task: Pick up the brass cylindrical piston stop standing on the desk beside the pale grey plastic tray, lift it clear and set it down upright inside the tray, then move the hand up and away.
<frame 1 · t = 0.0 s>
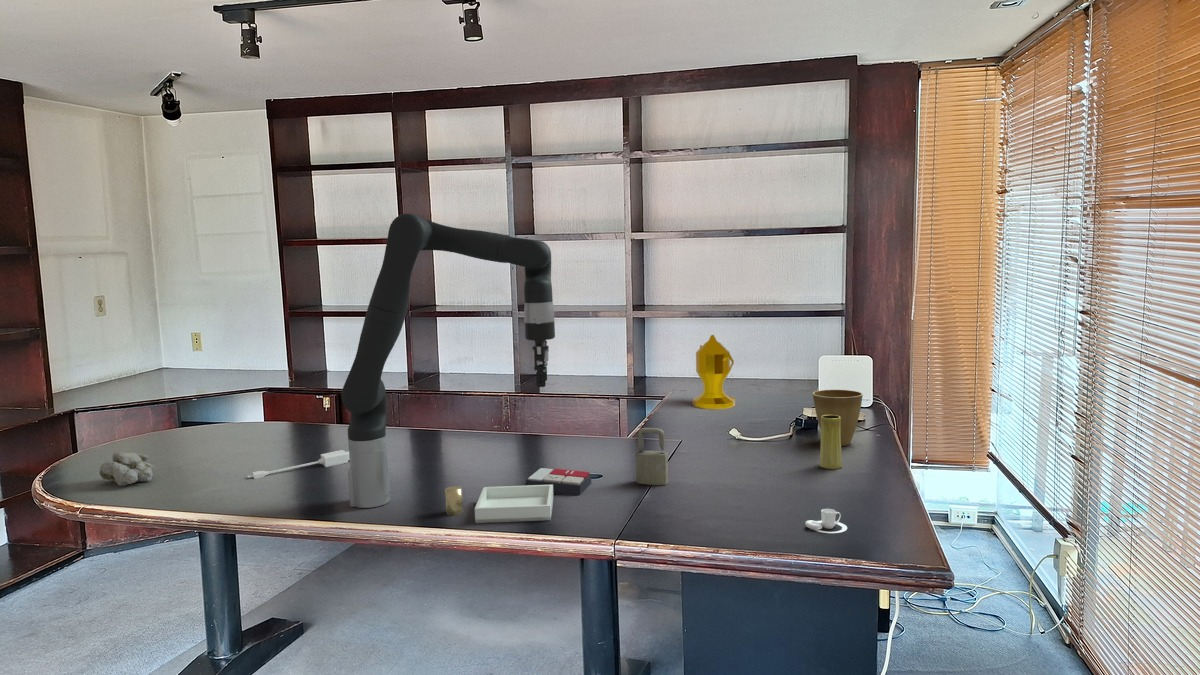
hand: (542, 383, 197), 29 cm above the table, fingers open, 8 cm apart
plant pot: (837, 443, 243), on the table
tray: (516, 509, 190), on the table
padlock: (652, 483, 208), on the table
mineral: (130, 483, 225), on the table
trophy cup: (715, 404, 309), on the table
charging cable: (307, 469, 235), on the table
teacup and saucer: (817, 526, 174), on the table
vase: (830, 467, 218), on the table
calculator: (559, 489, 207), on the table
piston stop: (454, 512, 190), on the table
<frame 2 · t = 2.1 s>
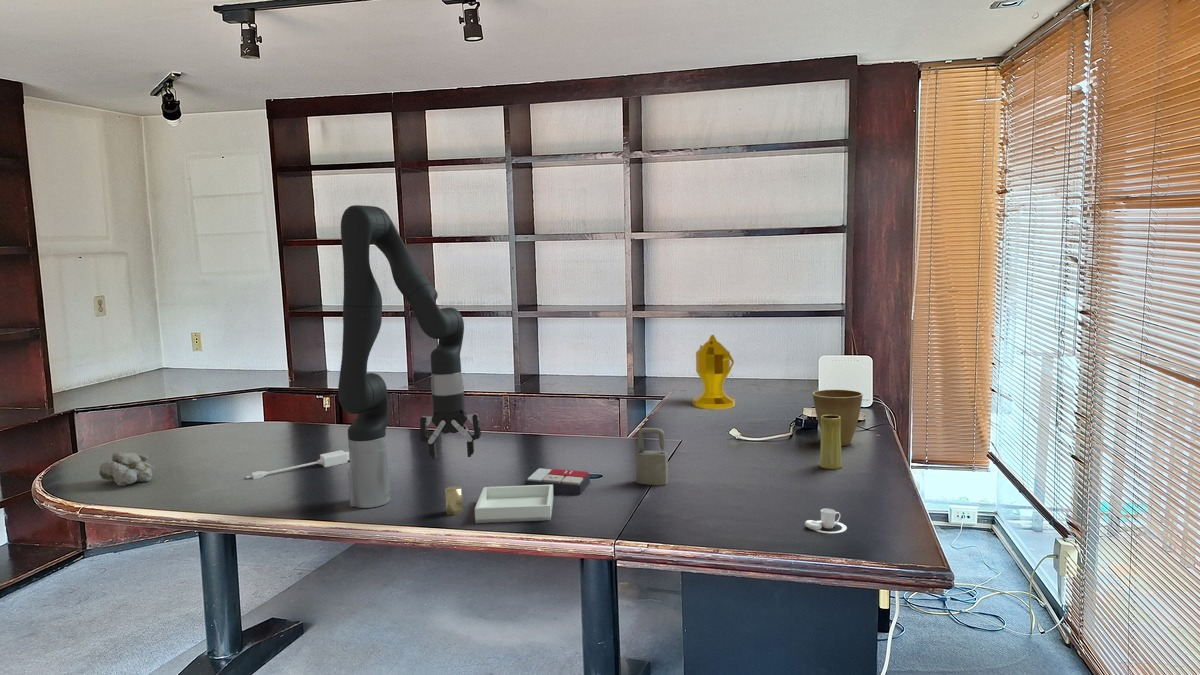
hand: (452, 457, 188), 14 cm above the table, fingers open, 8 cm apart
nothing on the table moved.
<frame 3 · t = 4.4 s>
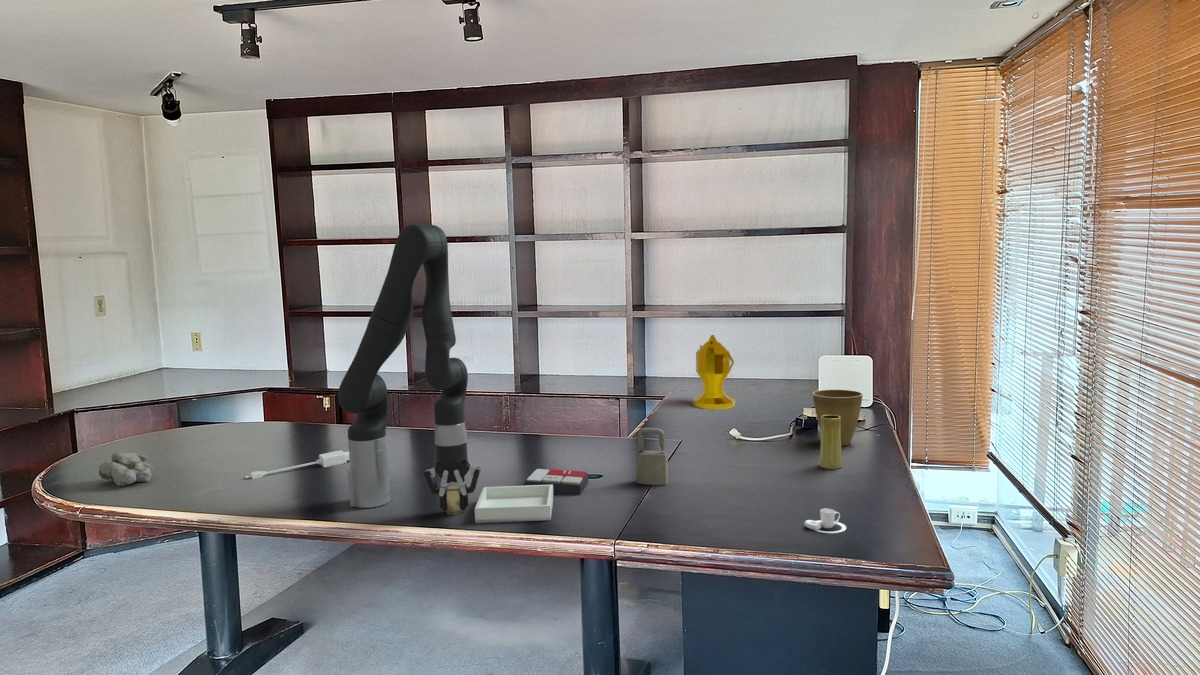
hand: (454, 509, 190), 1 cm above the table, fingers closed on piston stop, 4 cm apart
piston stop: (454, 512, 190), on the table, touching gripper
everything else where it was.
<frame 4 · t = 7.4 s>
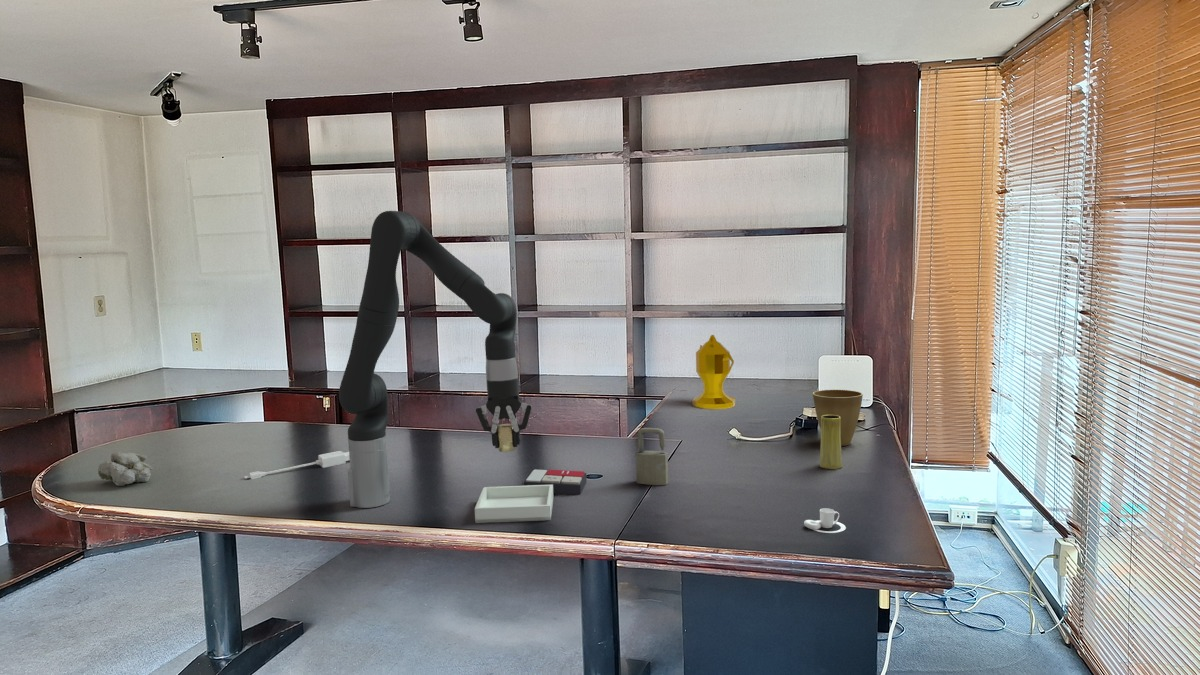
hand: (506, 446, 188), 16 cm above the table, fingers closed on piston stop, 4 cm apart
piston stop: (506, 449, 188), point 15 cm above the table, touching gripper
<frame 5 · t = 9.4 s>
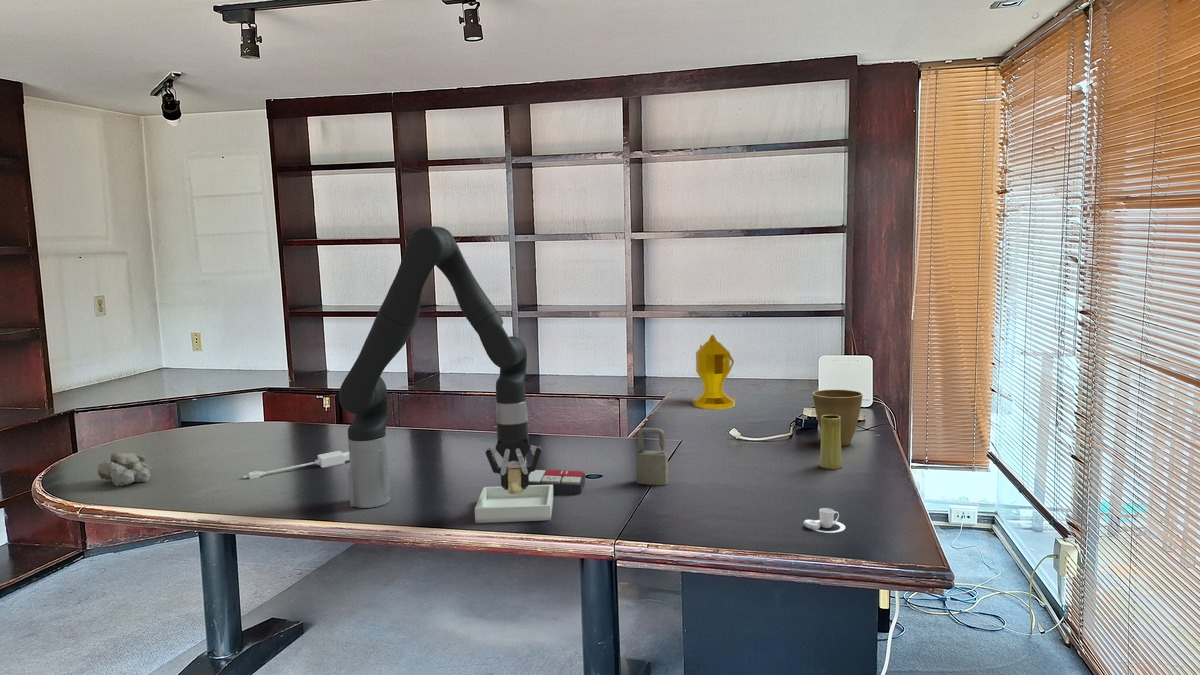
hand: (515, 488, 189), 5 cm above the table, fingers closed on piston stop, 4 cm apart
piston stop: (515, 491, 189), point 5 cm above the table, touching gripper
when the fingers open (3 cm above the table, at t = 10.7 s): piston stop drops 1 cm, resting on tray.
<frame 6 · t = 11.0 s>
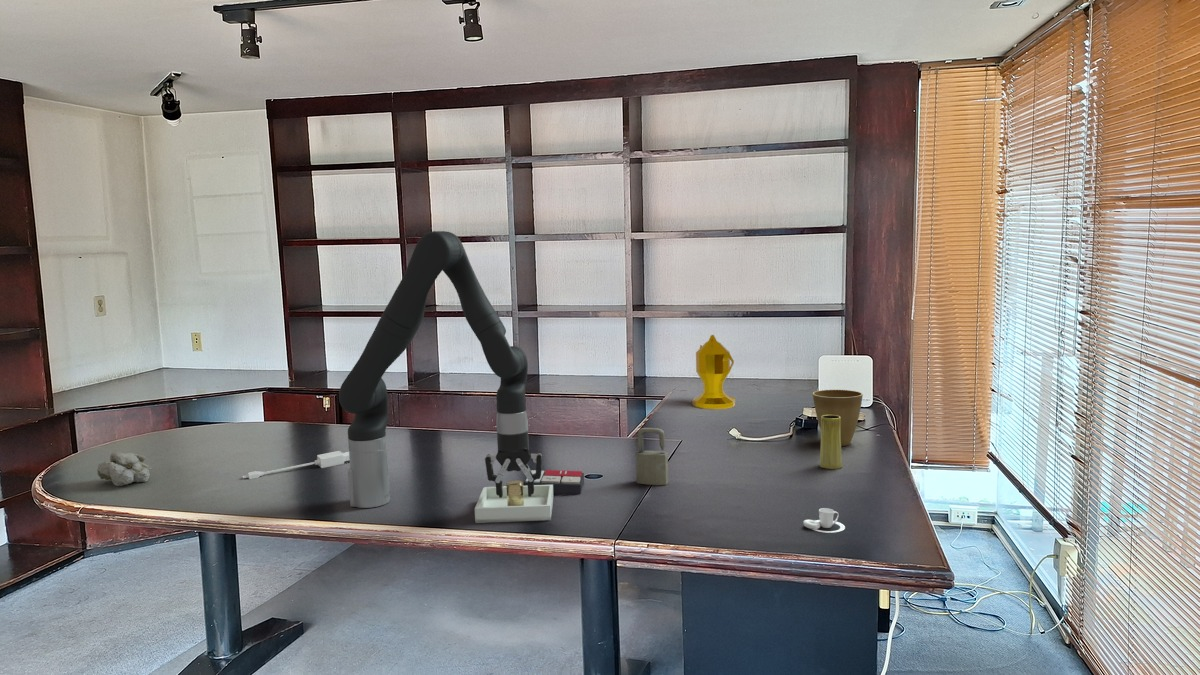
hand: (515, 496, 190), 3 cm above the table, fingers open, 6 cm apart
piston stop: (515, 506, 190), point 1 cm above the table, touching tray
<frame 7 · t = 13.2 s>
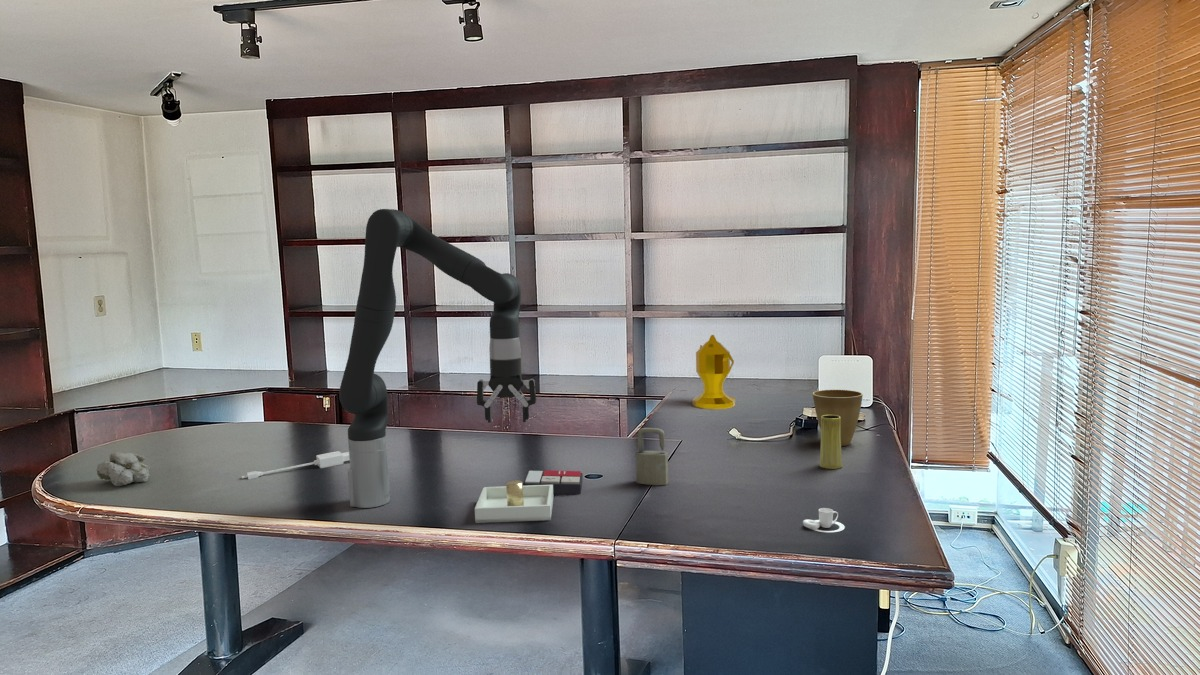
hand: (507, 421, 190), 22 cm above the table, fingers open, 8 cm apart
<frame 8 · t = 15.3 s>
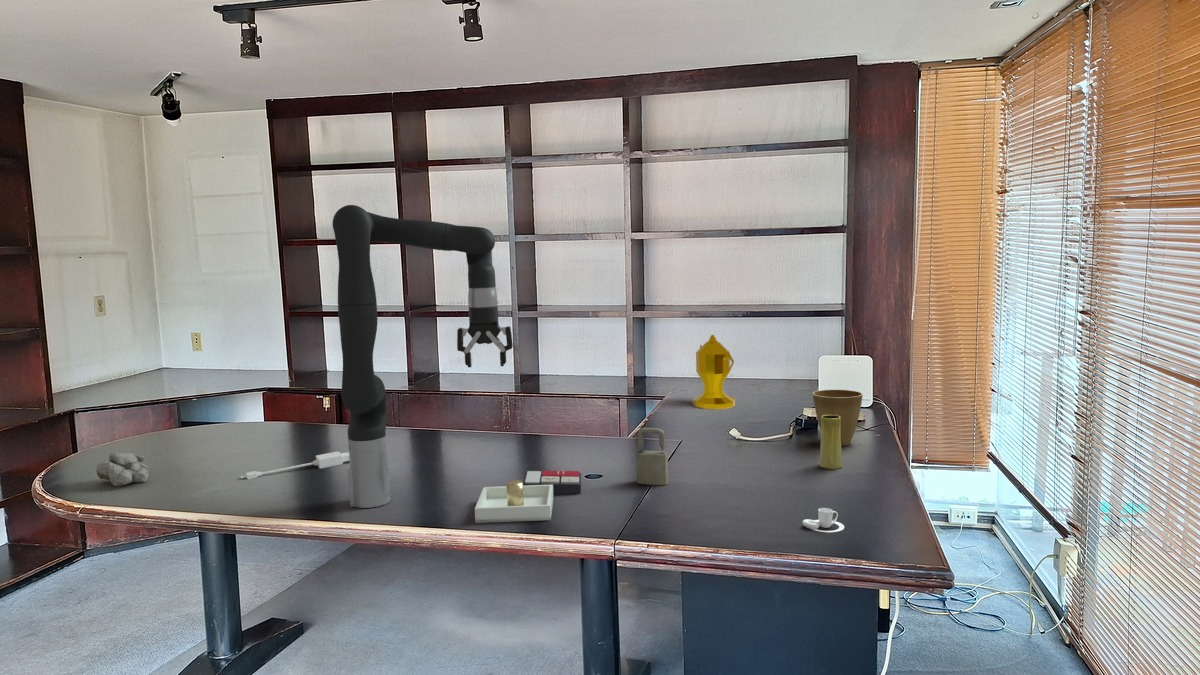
hand: (486, 366, 204), 33 cm above the table, fingers open, 8 cm apart
at the end: piston stop inside the target area on the tray (0.1 cm from its centre), point 0.9 cm above the tray's base; piston stop tilted 3°; the gripper is holding nothing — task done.
